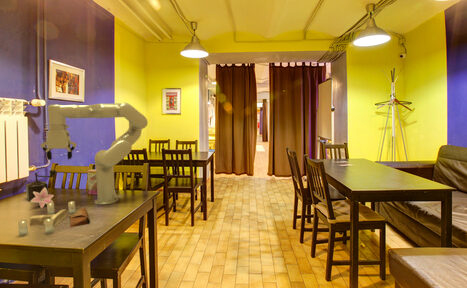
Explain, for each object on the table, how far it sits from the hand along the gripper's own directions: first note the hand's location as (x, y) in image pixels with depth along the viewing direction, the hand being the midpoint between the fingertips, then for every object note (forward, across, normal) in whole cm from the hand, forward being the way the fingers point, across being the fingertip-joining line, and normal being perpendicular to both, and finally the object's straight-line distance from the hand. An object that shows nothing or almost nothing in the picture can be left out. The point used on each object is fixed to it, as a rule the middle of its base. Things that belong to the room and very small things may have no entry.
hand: (59, 159), depth 144 cm
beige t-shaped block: (+27, -6, +20) cm, 34 cm away
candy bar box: (+28, -10, -30) cm, 43 cm away
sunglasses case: (+29, -14, +19) cm, 37 cm away
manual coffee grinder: (+29, +23, -30) cm, 47 cm away
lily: (+29, +14, -10) cm, 33 cm away
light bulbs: (+28, -2, +20) cm, 35 cm away
